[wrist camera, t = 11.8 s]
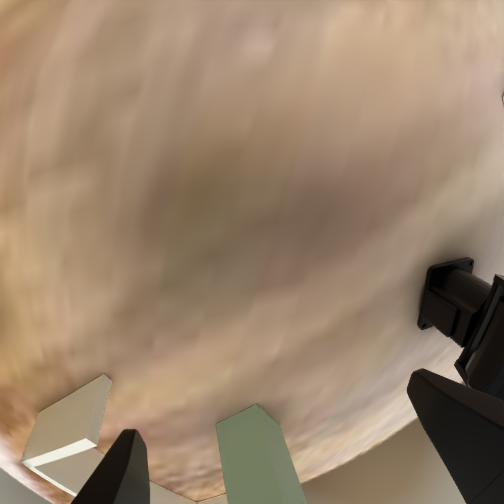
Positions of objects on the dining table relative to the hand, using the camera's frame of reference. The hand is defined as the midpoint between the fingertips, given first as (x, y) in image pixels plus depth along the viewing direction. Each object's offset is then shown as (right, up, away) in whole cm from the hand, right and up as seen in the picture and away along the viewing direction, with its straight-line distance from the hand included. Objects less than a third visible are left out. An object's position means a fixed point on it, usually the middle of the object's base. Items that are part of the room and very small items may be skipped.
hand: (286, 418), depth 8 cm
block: (-1, -12, +18) cm, 21 cm away
